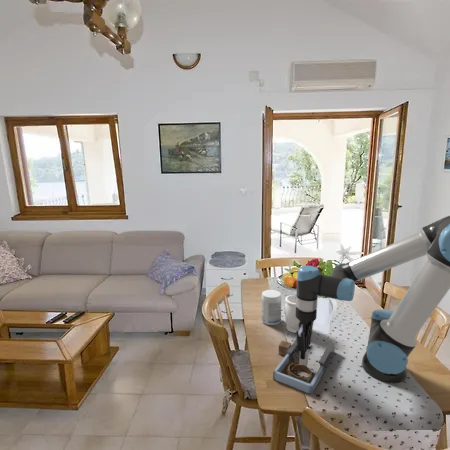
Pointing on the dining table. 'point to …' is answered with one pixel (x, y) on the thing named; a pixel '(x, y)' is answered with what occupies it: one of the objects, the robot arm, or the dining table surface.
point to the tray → (293, 381)
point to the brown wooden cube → (284, 347)
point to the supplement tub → (271, 307)
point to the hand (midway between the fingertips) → (303, 364)
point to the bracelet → (294, 367)
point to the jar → (291, 314)
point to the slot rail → (324, 358)
